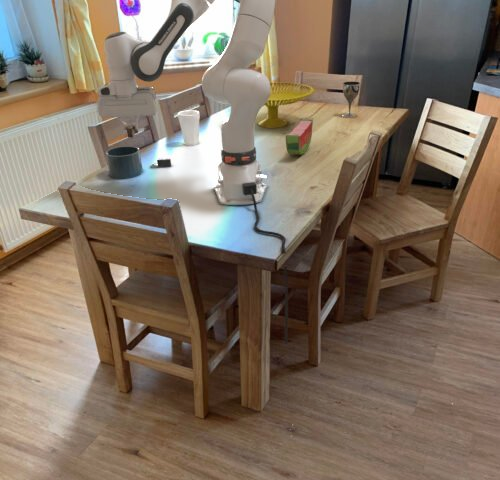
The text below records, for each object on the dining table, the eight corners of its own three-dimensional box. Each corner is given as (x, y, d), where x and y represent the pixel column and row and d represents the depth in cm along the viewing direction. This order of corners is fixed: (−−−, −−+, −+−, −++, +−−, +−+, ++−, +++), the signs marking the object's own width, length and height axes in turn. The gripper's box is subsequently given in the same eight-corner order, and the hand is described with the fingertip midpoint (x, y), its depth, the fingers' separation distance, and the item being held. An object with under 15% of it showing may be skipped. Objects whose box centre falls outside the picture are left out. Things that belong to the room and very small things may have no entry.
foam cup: (177, 145, 231) (173, 114, 223) (188, 139, 237) (185, 109, 229) (194, 147, 227) (191, 116, 219) (205, 141, 233) (203, 111, 226)
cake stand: (310, 135, 234) (311, 100, 225) (224, 135, 241) (221, 100, 232) (317, 113, 266) (318, 81, 257) (240, 113, 273) (239, 82, 264)
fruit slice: (299, 141, 228) (300, 117, 222) (313, 142, 226) (314, 118, 220) (284, 160, 208) (284, 135, 202) (299, 161, 206) (300, 135, 200)
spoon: (135, 137, 183) (133, 128, 181) (125, 137, 183) (124, 128, 181) (138, 131, 189) (137, 122, 187) (129, 131, 189) (128, 122, 187)
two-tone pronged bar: (171, 164, 209) (170, 157, 207) (170, 167, 207) (169, 159, 205) (151, 165, 209) (150, 158, 207) (150, 168, 207) (149, 160, 205)
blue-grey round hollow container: (140, 177, 198) (136, 155, 193) (106, 179, 198) (102, 157, 193) (145, 166, 208) (141, 145, 203) (113, 168, 208) (109, 146, 203)
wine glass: (338, 115, 262) (340, 82, 253) (351, 112, 264) (353, 80, 255) (346, 118, 256) (349, 85, 247) (360, 116, 258) (363, 83, 250)
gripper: (155, 84, 178) (161, 125, 187) (96, 86, 179) (104, 128, 187) (153, 88, 173) (159, 130, 182) (92, 90, 174) (101, 133, 182)
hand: (131, 129), depth 184 cm, fingers closed on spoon, 2 cm apart
